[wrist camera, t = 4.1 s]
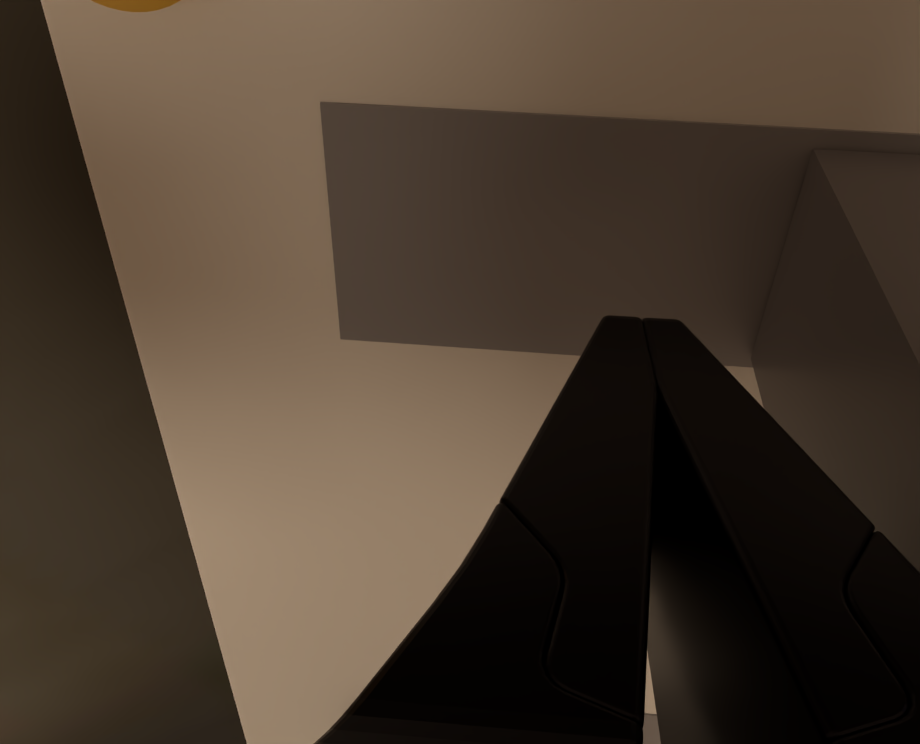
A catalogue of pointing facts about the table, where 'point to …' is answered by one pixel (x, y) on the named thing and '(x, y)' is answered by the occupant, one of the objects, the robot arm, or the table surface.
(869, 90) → the beige rectangular board
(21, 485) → the table surface
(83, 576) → the table surface
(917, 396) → the cylinder
